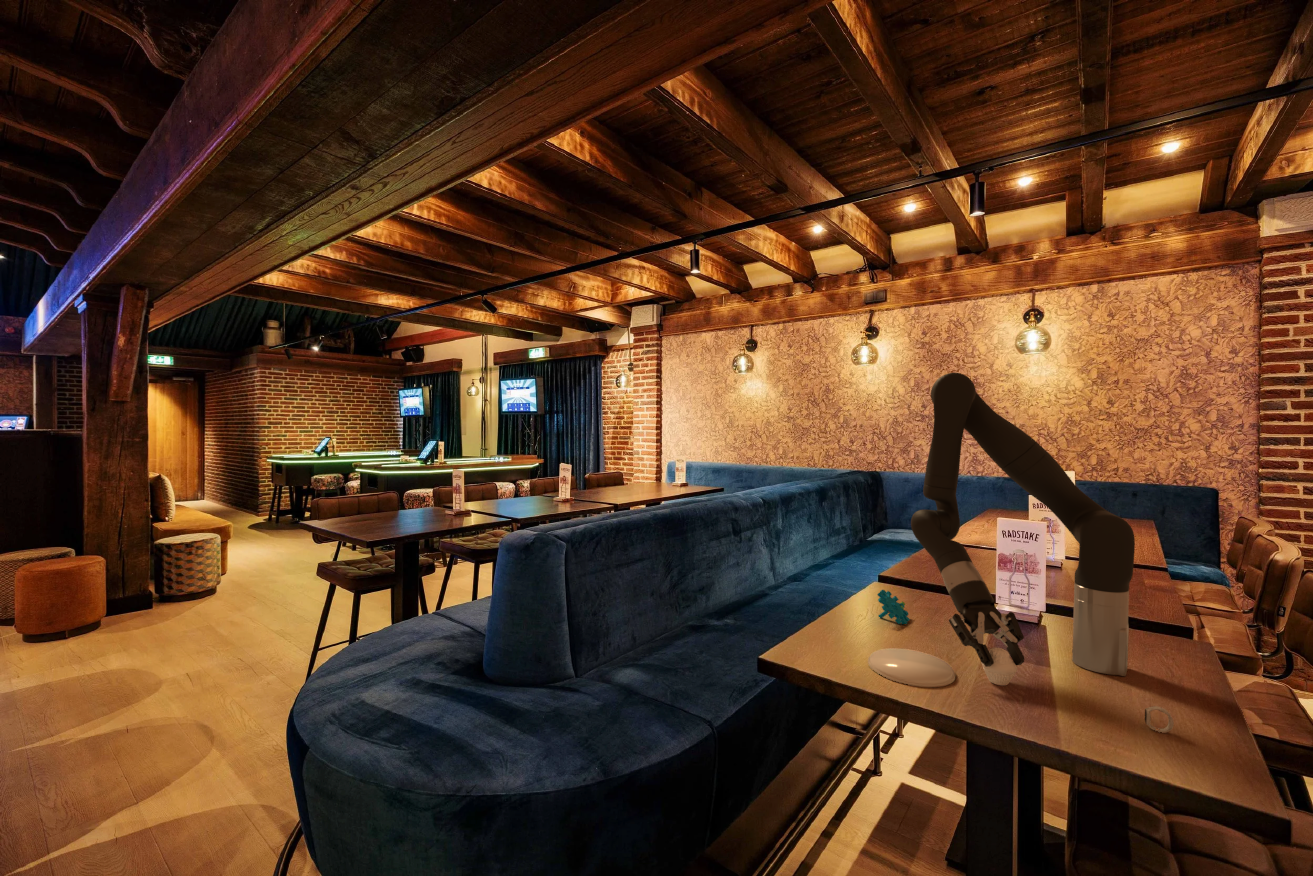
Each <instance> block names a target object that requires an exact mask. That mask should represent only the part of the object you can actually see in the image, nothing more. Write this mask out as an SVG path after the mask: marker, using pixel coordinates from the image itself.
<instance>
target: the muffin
mask: <svg viewBox="0 0 1313 876" xmlns="http://www.w3.org/2000/svg"><path fill="white" fill-rule="evenodd" d="M988 650H989V652H990V655H991V657H992V659H993V661H994V664H992V665H991V666H990V667H986V666H985V665H984V664H983V663H982V662H981V661H980V662H981V665H982V668H983V671H984V673H985V675H986V677H987V679H988V681H989V682H990V683H992V684H993V685H994V684H995V685H998V686H1007V685H1008V684H1009V683H1010V682H1011V680H1013V677H1014V676H1016V672H1017V671H1018V665H1015V663H1014V662H1013V660H1012V658H1011V656H1010V654H1009V652H1008V651H1007V649H1004V648H1001V647H992V648H989V649H988Z"/></svg>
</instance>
